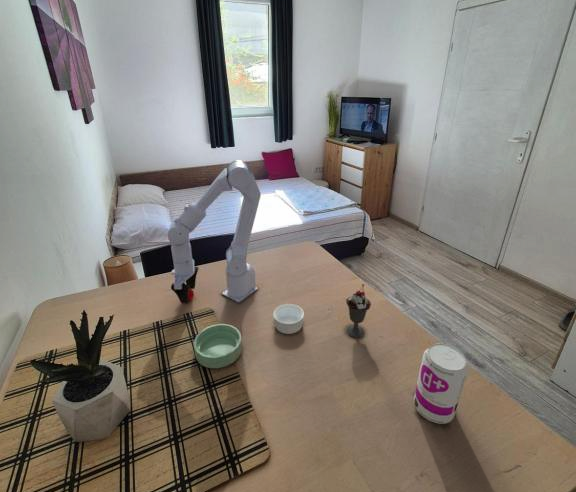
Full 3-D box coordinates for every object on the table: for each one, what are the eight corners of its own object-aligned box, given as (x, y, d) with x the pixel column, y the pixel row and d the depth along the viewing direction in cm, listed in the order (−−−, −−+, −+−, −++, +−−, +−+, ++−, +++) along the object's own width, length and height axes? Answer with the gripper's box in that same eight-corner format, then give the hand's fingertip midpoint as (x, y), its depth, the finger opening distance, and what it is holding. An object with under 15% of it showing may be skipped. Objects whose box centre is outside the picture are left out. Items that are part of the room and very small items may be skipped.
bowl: (220, 329, 93) (218, 318, 92) (251, 347, 87) (250, 335, 85) (185, 355, 84) (184, 343, 83) (218, 377, 78) (216, 365, 76)
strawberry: (189, 294, 109) (188, 283, 107) (197, 298, 107) (195, 287, 105) (180, 299, 106) (178, 288, 104) (187, 303, 104) (186, 293, 102)
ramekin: (268, 330, 93) (268, 318, 91) (280, 312, 100) (280, 300, 99) (297, 339, 90) (297, 327, 88) (307, 319, 97) (308, 307, 95)
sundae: (365, 324, 95) (370, 281, 89) (368, 340, 89) (374, 295, 83) (342, 322, 96) (346, 279, 90) (344, 339, 90) (348, 294, 84)
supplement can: (435, 433, 66) (450, 379, 60) (405, 400, 72) (415, 349, 66) (462, 415, 69) (478, 363, 63) (430, 386, 76) (442, 336, 70)
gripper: (177, 247, 107) (182, 282, 113) (161, 271, 94) (168, 309, 99) (198, 248, 107) (202, 282, 112) (185, 271, 94) (190, 309, 99)
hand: (188, 295), depth 106 cm, fingers open, 7 cm apart
